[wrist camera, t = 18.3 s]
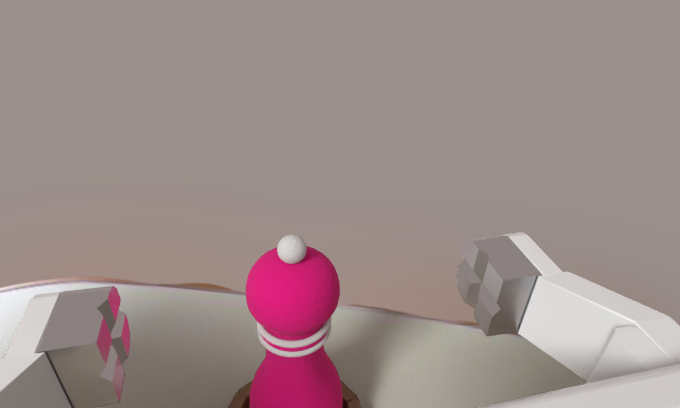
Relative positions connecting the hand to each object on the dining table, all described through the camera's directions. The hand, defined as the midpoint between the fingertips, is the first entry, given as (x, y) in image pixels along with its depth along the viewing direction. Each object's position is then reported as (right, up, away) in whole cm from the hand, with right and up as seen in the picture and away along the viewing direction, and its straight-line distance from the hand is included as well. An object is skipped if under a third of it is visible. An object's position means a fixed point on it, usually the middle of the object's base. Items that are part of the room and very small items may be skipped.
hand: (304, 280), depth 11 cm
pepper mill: (-3, -17, +27) cm, 32 cm away
